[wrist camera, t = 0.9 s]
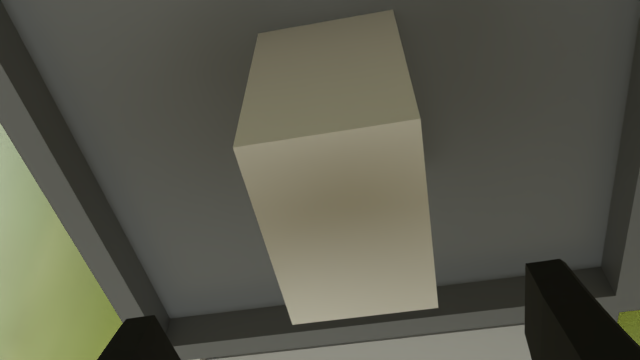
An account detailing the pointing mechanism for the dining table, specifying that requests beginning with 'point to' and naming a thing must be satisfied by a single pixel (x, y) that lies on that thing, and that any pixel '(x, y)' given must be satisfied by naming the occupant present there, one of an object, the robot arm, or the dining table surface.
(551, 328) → the robot arm
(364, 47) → the block
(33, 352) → the dining table surface
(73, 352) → the dining table surface
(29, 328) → the dining table surface
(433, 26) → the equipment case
